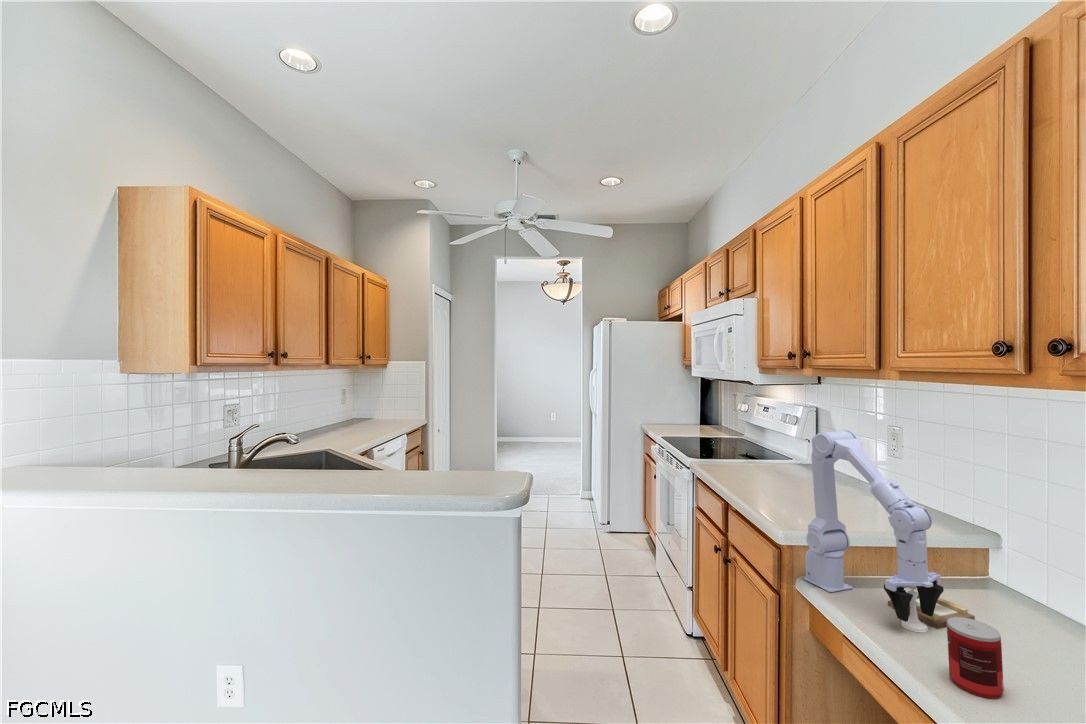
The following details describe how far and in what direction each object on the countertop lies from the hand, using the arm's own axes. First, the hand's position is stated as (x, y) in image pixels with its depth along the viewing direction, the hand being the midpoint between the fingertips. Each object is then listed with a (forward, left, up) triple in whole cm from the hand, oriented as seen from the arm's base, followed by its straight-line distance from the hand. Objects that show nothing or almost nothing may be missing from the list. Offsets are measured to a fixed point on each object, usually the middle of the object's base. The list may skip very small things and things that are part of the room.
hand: (914, 616), depth 112 cm
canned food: (+19, -10, -3) cm, 22 cm away
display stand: (-4, +10, -2) cm, 11 cm away
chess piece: (0, 0, -3) cm, 3 cm away
